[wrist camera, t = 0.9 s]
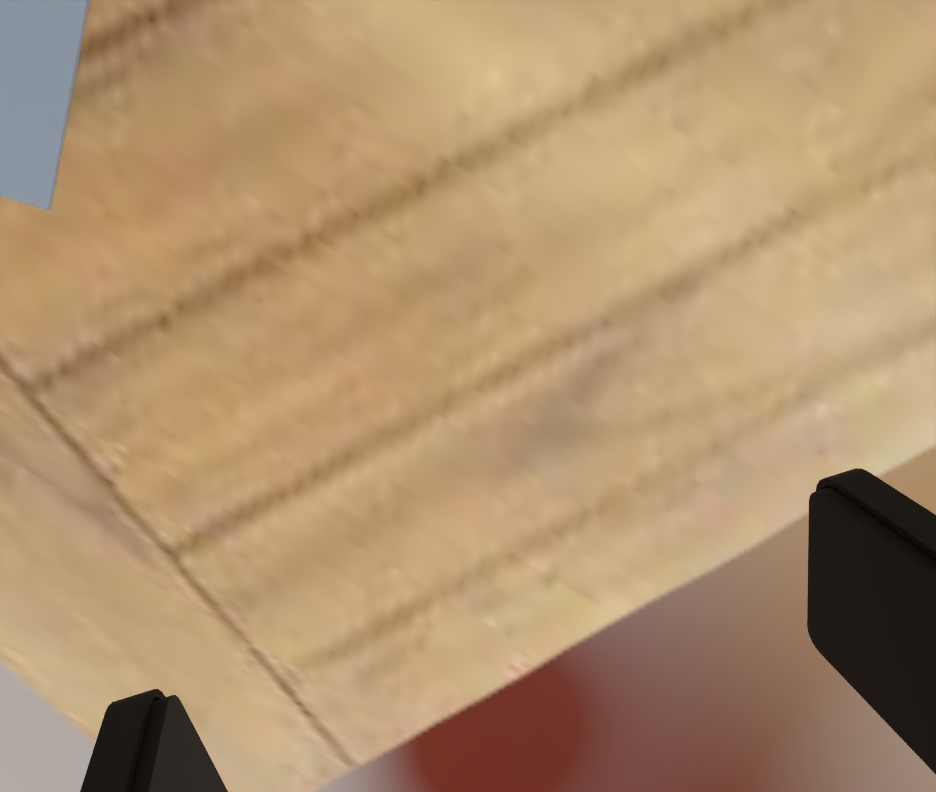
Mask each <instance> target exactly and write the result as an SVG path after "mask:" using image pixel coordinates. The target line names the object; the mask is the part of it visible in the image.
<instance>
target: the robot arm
mask: <svg viewBox="0 0 936 792" xmlns="http://www.w3.org/2000/svg"><path fill="white" fill-rule="evenodd" d="M808 550H809V551H808V553H809V554H808V621H807V626H808V632H809V635H810V638H811V640H812V642H813V644H814V645H815V647H816V648H817V650H818V651H819V652H820V653H821V654H822V655H823V656H824V658H825V659H826V660H828V662H829V663H830V664H831V665H832V666H833V667H834V668H835V669H836V670H837V671H838V672H839V673H840V674H841V675H842V676H843V677H844V678H845V679H846V680H847V682H848V683H849V684H850V685H851V686H852V687H853V688H854V689H855V690H856V691H857V692H858V693H859V694H860V695H861V696H862V697H863V698H864V699H865V700H866V701H867V702H868V704H869V705H870V706H871V707H873V709H874V710H875V711H876V712H877V713H878V714H879V715H880V716H881V717H882V718H883V719H884V720H885V721H886V722H887V724H888V725H889V726H890V727H891V728H892V729H893V730H894V731H895V732H896V733H897V734H898V735H899V736H900V737H901V738H902V739H903V740H904V741H905V742H906V743H907V745H908V746H909V747H910V748H911V749H912V750H913V751H914V752H915V753H916V754H917V755H918V756H919V757H920V758H921V759H922V760H923V761H924V762H925V763H926V764H927V765H928V767H929V768H930V769H931V770H932V771H933V772H934V773H935V774H936V515H935V514H933V513H932V512H930V511H929V510H927V509H925V508H924V507H922V506H921V505H919V504H918V503H916V502H914V501H913V500H911V499H910V498H908V497H907V496H905V495H903V494H902V493H900V492H899V491H897V490H896V489H894V488H893V487H891V486H890V485H888V484H886V483H885V482H883V481H882V480H880V479H879V478H877V477H876V476H874V475H872V474H871V473H869V472H868V471H865V470H863V469H853V470H849V471H846V472H843V473H840V474H837V475H834V476H830V477H827V478H824V479H822V480H820V481H819V483H818V484H817V488H816V492H814V493H812V494H811V496H810V499H809V549H808ZM80 792H228V791H227V789H226V787H225V785H224V783H223V781H222V780H221V778H220V776H219V774H218V772H217V770H216V768H215V766H214V764H213V762H212V760H211V758H210V757H209V755H208V753H207V751H206V749H205V747H204V745H203V743H202V741H201V739H200V737H199V735H198V734H197V732H196V730H195V728H194V726H193V724H192V722H191V720H190V718H189V716H188V714H187V712H186V711H185V709H184V707H183V705H182V703H181V701H180V700H179V698H178V697H177V696H175V695H172V696H169V697H165V696H164V694H163V693H162V692H161V691H160V690H158V689H153V690H150V691H147V692H144V693H141V694H137V695H134V696H131V697H128V698H125V699H122V700H118V701H115V702H112V703H111V704H110V705H109V706H108V708H107V710H106V712H105V715H104V719H103V722H102V725H101V728H100V731H99V734H98V737H97V741H96V744H95V747H94V750H93V754H92V757H91V759H90V763H89V766H88V769H87V772H86V775H85V778H84V782H83V785H82V788H81V791H80Z"/></svg>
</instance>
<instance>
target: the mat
mask: <svg viewBox="0 0 936 792" xmlns="http://www.w3.org/2000/svg"><path fill="white" fill-rule="evenodd" d="M89 2H90V0H0V196H3V197H7V198H10V199H13V200H16V201H20V202H23V203H26V204H30V205H33V206H36V207H39V208H43V209H46V210H49V209H51V205H52V200H53V195H54V189H55V184H56V179H57V173H58V168H59V163H60V157H61V152H62V147H63V141H64V136H65V131H66V125H67V120H68V115H69V109H70V104H71V98H72V93H73V88H74V82H75V77H76V72H77V66H78V61H79V56H80V50H81V45H82V40H83V34H84V29H85V24H86V18H87V13H88V8H89Z"/></svg>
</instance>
